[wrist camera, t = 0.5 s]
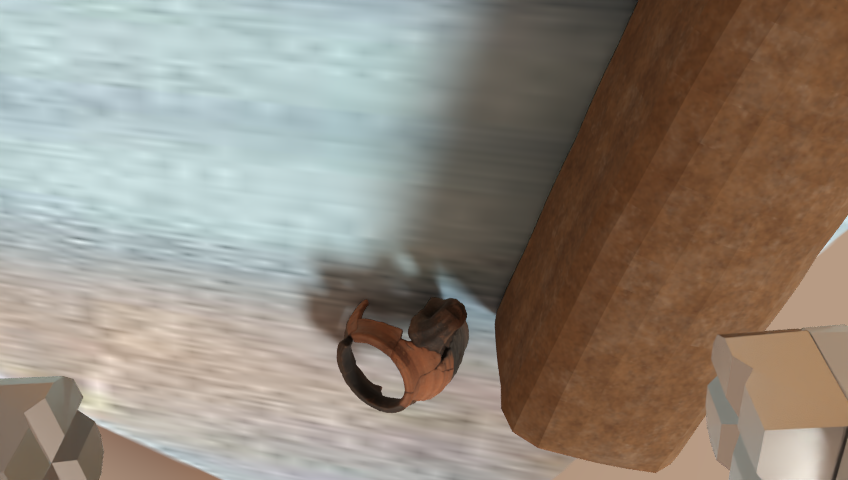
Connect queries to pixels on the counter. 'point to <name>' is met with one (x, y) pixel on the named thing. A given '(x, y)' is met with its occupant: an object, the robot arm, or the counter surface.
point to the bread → (676, 222)
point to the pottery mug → (408, 352)
